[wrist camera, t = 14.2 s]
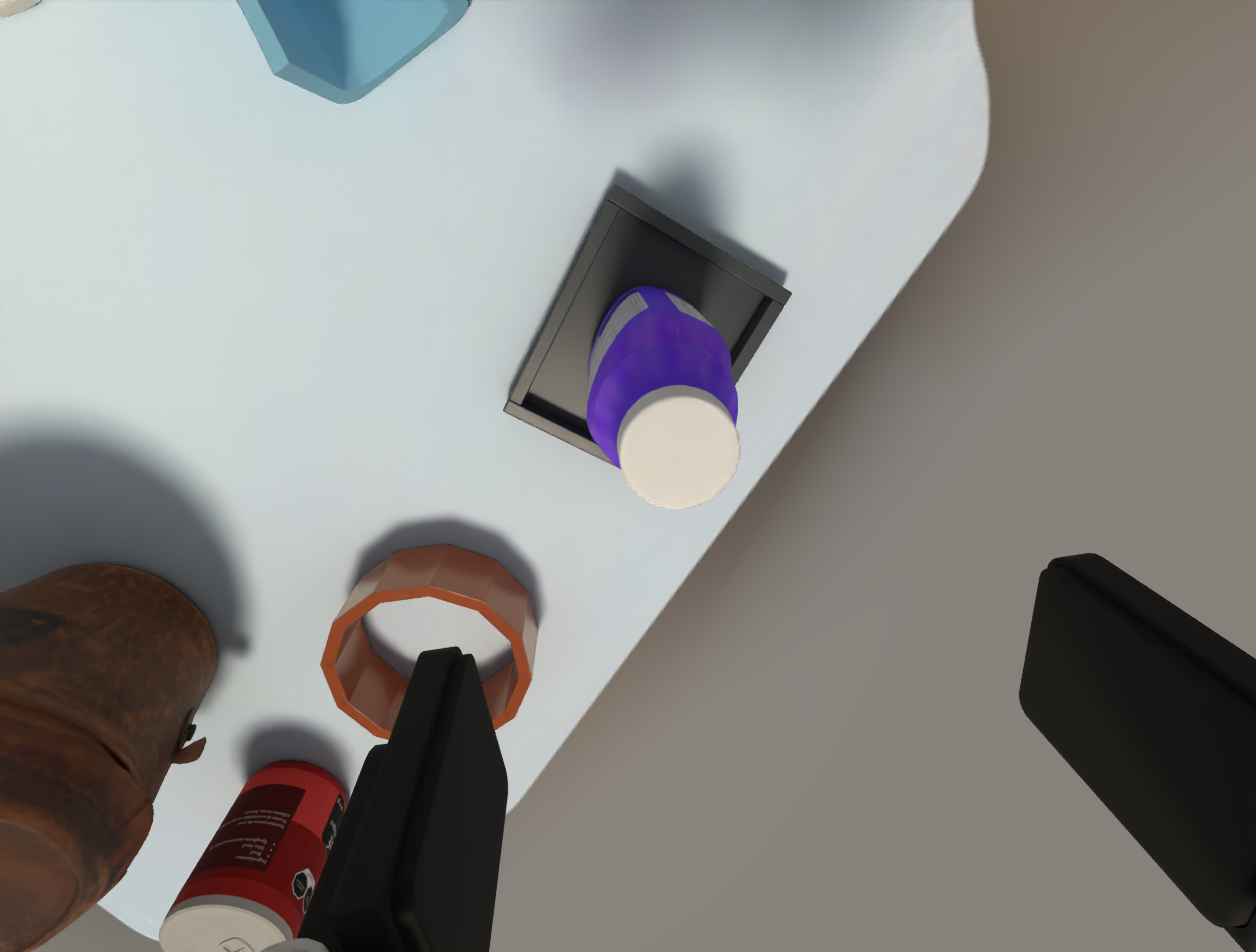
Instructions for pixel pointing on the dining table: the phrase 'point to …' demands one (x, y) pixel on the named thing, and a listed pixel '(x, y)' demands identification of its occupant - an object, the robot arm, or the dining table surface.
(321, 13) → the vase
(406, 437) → the dining table surface
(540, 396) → the tray
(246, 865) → the canned food
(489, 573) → the terracotta faceted ring
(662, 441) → the bottle
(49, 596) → the case
